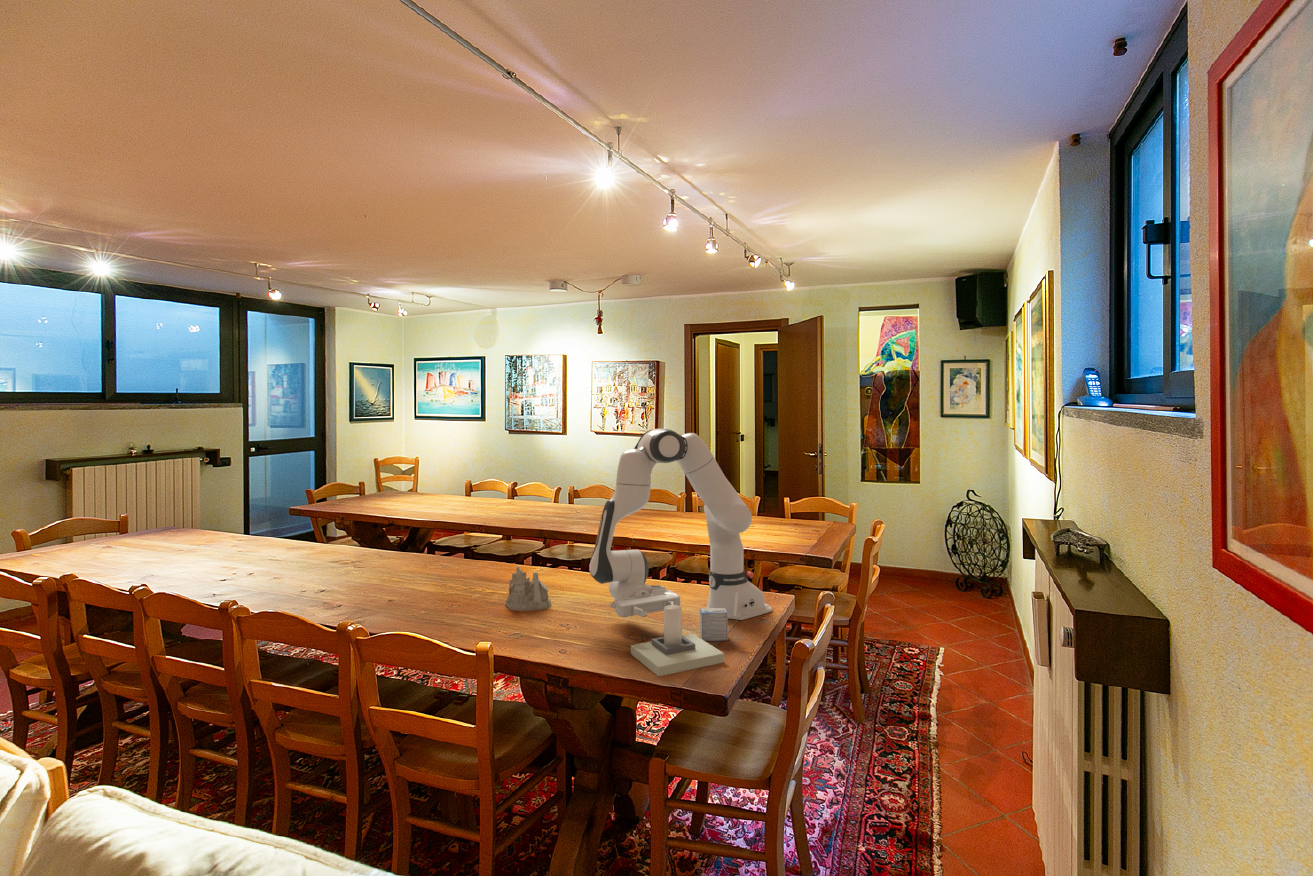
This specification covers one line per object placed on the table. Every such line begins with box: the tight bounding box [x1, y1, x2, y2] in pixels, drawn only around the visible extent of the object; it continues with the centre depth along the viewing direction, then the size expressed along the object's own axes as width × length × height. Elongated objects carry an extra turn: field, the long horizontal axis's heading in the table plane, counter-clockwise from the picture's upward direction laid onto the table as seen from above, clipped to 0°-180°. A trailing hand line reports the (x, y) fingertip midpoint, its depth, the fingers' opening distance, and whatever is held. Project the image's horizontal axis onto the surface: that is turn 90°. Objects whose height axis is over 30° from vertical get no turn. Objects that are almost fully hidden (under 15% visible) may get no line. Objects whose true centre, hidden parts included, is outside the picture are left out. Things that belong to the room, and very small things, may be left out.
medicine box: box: [699, 607, 729, 642], centre depth 193 cm, size 8×4×9 cm, turn 92°
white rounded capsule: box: [663, 605, 683, 648], centre depth 179 cm, size 5×5×11 cm
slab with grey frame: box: [630, 633, 725, 677], centre depth 178 cm, size 20×17×4 cm
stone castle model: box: [505, 565, 552, 612], centre depth 228 cm, size 16×16×15 cm
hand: (659, 611), depth 187 cm, fingers open, 8 cm apart
